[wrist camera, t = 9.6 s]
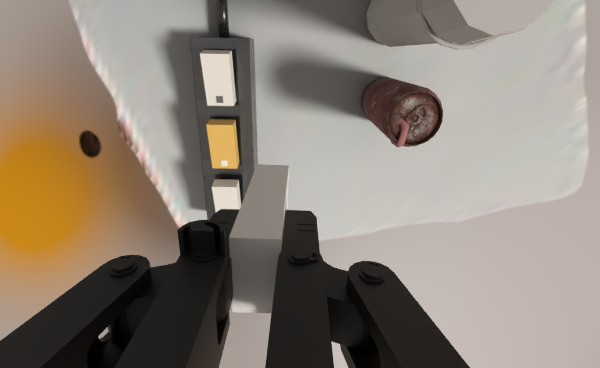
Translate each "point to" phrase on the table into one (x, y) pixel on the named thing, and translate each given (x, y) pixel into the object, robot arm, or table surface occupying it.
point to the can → (402, 111)
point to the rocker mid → (223, 143)
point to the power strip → (228, 107)
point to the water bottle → (450, 20)
